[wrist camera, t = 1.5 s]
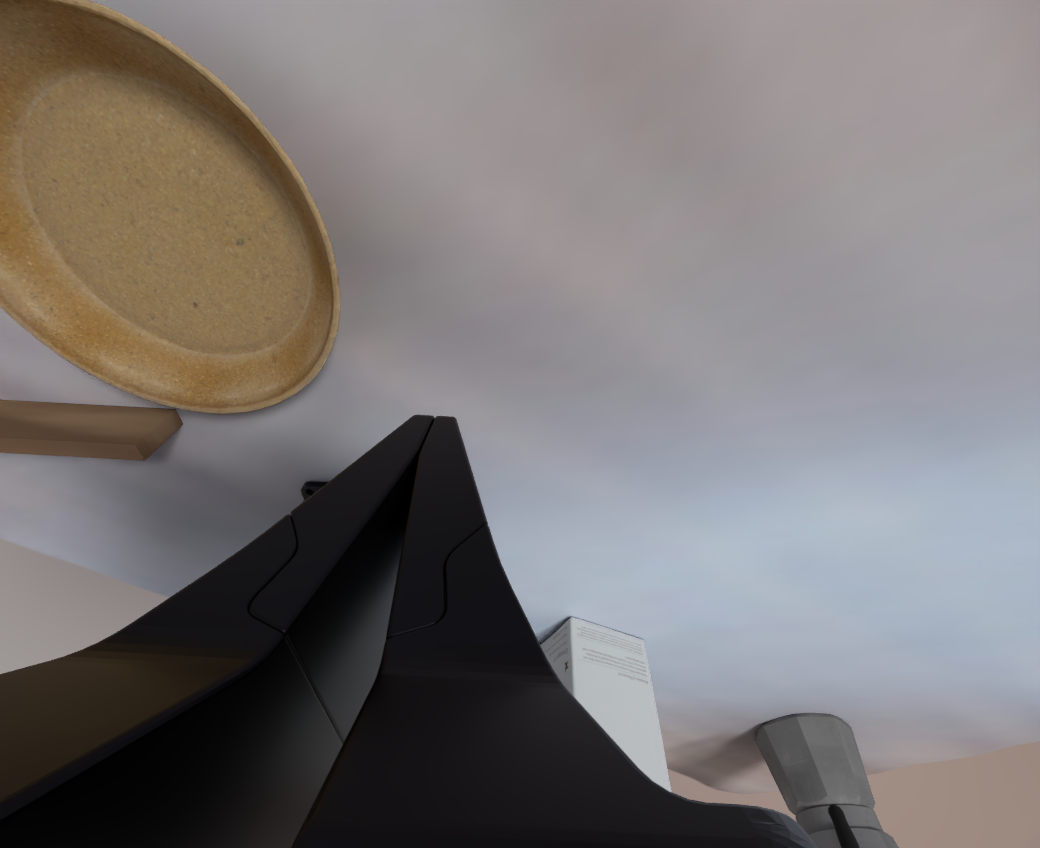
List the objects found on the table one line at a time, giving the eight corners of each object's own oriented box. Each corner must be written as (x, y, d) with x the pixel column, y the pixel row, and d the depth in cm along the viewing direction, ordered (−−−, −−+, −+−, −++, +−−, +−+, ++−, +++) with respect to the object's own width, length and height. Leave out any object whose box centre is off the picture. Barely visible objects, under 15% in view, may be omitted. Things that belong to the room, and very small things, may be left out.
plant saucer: (208, -85, 13) (147, -116, 11) (415, 347, 22) (401, 375, 20) (-127, 89, 16) (-225, 90, 14) (169, 410, 25) (135, 441, 23)
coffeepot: (853, 746, 49) (982, 1018, 35) (762, 756, 52) (847, 1012, 38) (844, 687, 41) (1008, 1013, 27) (737, 703, 44) (833, 1005, 29)
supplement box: (569, 613, 35) (581, 826, 25) (646, 638, 37) (686, 846, 27) (525, 652, 39) (520, 849, 29) (596, 673, 41) (615, 865, 31)
